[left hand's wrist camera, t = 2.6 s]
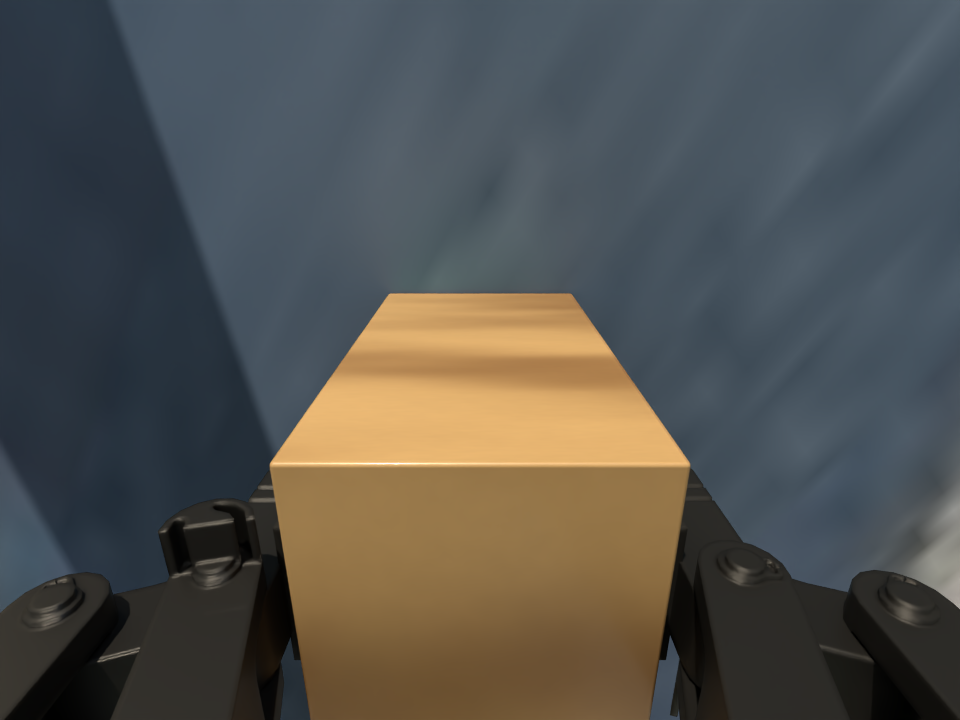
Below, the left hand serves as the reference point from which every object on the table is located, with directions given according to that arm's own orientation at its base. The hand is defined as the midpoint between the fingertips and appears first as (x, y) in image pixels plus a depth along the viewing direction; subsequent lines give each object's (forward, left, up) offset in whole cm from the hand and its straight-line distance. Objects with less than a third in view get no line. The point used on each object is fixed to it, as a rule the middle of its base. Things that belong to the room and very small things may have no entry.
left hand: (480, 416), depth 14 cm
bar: (+7, +4, -1) cm, 8 cm away
